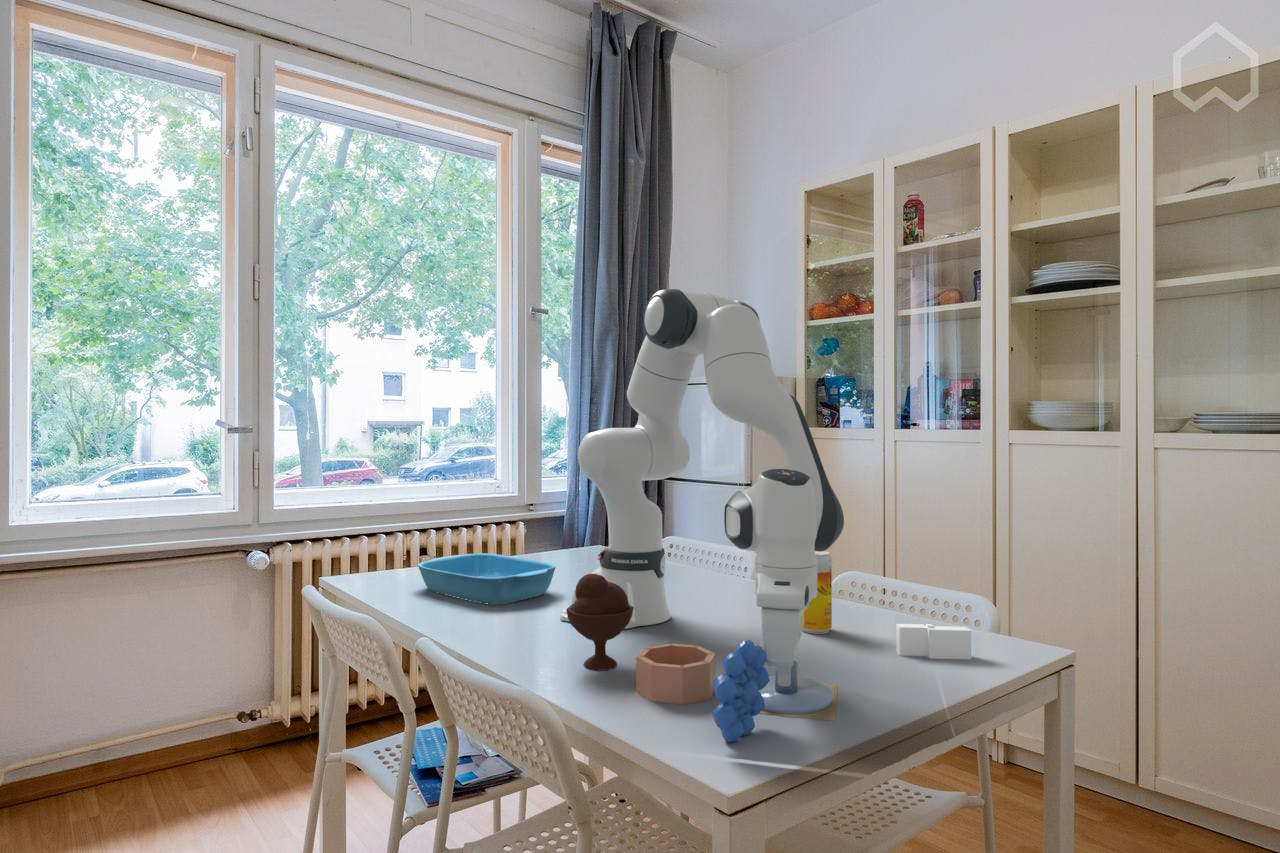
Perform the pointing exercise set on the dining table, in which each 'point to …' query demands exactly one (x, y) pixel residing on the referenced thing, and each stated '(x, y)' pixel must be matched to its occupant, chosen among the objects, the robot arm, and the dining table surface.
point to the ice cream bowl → (599, 616)
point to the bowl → (675, 673)
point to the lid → (796, 695)
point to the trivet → (822, 715)
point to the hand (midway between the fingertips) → (786, 679)
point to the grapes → (740, 690)
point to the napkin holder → (933, 641)
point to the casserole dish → (487, 577)
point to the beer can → (820, 598)
